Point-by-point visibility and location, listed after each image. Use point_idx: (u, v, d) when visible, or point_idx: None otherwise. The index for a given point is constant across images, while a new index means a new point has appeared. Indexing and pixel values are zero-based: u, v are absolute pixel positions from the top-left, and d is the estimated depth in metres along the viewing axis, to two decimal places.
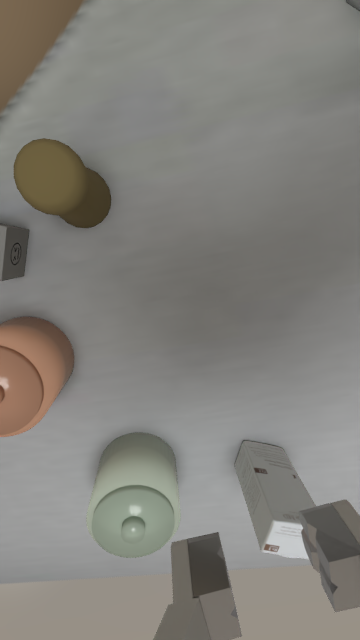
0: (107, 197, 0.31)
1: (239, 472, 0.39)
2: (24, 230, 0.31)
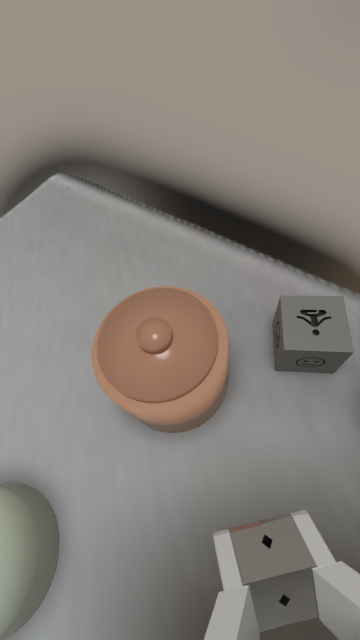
0: None
1: None
2: (335, 369, 0.26)
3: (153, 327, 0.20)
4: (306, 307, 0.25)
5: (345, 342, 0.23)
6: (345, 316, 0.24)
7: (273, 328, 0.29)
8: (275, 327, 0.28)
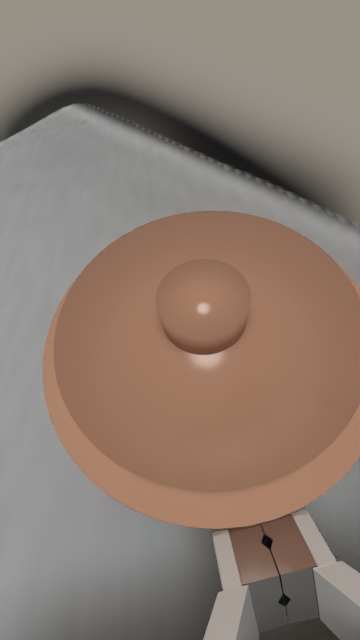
0: None
1: None
2: None
3: (205, 284, 0.08)
4: None
5: None
6: None
7: None
8: None
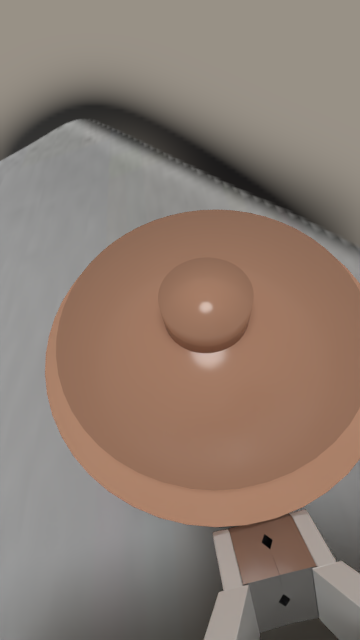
0: None
1: None
2: None
3: (207, 282, 0.08)
4: None
5: None
6: None
7: None
8: None
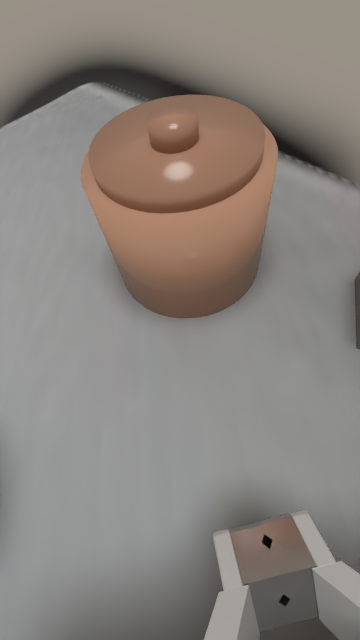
0: None
1: None
2: None
3: (173, 112, 0.14)
4: None
5: None
6: None
7: (356, 287, 0.19)
8: None
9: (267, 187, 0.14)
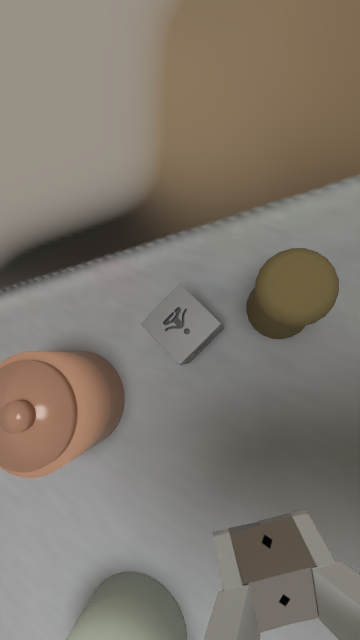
0: None
1: None
2: (222, 328, 0.29)
3: (10, 414, 0.23)
4: (164, 316, 0.26)
5: (210, 320, 0.25)
6: (194, 299, 0.26)
7: None
8: None
9: (83, 386, 0.24)
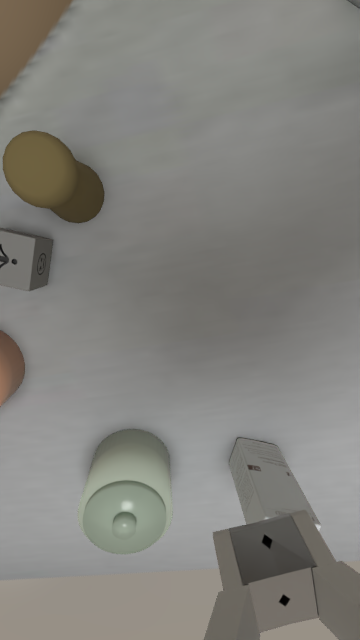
0: (100, 192, 0.31)
1: (233, 470, 0.38)
2: (49, 240, 0.31)
3: None
4: None
5: (25, 241, 0.28)
6: (0, 231, 0.27)
7: None
8: None
9: None
